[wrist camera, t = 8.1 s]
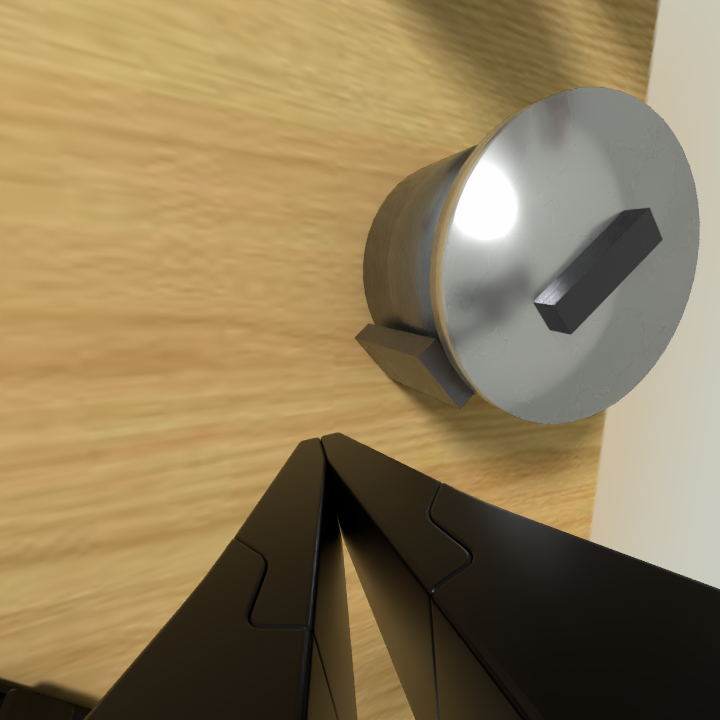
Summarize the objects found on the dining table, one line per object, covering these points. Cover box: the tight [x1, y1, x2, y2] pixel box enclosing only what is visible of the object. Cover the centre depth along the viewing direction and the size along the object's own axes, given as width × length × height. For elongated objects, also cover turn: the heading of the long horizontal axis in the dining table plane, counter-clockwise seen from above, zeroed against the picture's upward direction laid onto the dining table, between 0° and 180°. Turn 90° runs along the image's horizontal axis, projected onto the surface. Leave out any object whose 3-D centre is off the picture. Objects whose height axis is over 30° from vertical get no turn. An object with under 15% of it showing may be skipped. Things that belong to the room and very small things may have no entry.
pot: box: [355, 145, 477, 409], centre depth 20 cm, size 12×11×6 cm
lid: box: [430, 87, 700, 424], centre depth 16 cm, size 12×12×2 cm
